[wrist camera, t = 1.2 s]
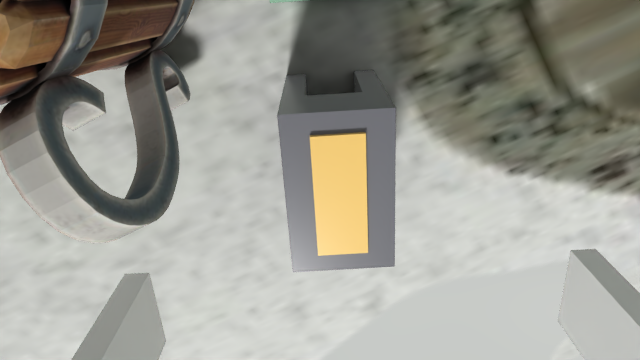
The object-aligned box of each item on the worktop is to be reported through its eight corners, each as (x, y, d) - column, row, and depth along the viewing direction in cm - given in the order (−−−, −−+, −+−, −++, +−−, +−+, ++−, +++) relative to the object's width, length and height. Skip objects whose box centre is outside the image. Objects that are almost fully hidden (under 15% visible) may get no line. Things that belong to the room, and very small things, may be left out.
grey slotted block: (297, 199, 30) (292, 274, 23) (286, 75, 27) (277, 116, 20) (374, 194, 30) (395, 268, 23) (373, 69, 27) (396, 109, 20)
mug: (-52, -93, 24) (-557, -175, 10) (122, -211, 22) (-199, -515, 8) (135, 165, 29) (-18, 338, 16) (285, 88, 28) (258, 208, 14)
